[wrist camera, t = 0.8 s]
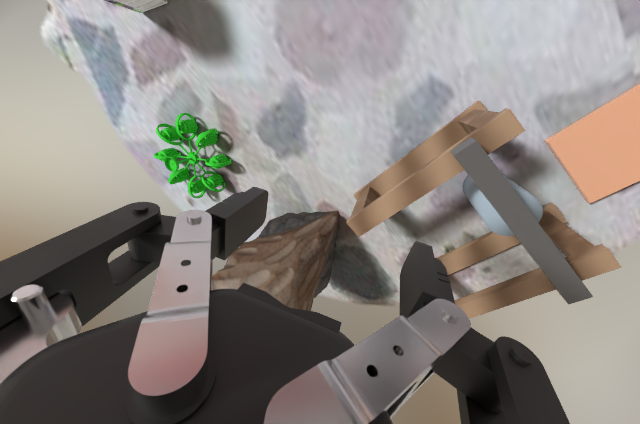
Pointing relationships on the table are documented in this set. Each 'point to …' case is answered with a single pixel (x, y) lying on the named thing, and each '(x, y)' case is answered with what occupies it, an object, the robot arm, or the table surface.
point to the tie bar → (520, 220)
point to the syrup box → (139, 4)
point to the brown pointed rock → (286, 259)
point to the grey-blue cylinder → (489, 212)
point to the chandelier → (191, 156)
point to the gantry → (439, 166)
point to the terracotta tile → (602, 147)
